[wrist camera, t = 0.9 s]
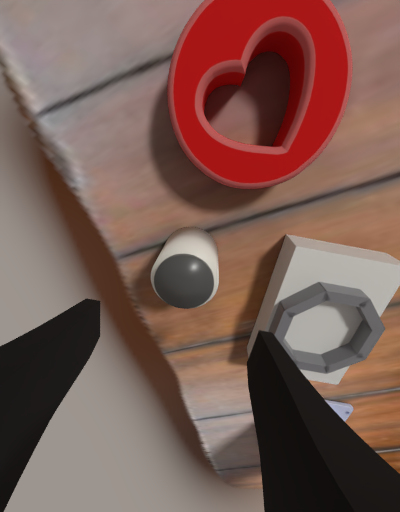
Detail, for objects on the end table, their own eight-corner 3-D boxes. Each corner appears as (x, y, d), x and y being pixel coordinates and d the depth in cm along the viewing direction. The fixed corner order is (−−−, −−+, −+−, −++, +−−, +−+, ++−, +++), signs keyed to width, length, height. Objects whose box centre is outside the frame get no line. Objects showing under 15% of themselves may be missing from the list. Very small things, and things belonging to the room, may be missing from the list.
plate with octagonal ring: (325, 361, 23) (344, 397, 20) (246, 347, 23) (252, 381, 20) (386, 253, 18) (424, 275, 15) (286, 234, 18) (302, 253, 15)
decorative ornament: (260, 208, 18) (269, 220, 15) (149, 130, 16) (135, 125, 13) (362, 78, 14) (400, 59, 11) (234, -42, 12) (240, -100, 10)
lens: (212, 279, 20) (211, 317, 16) (162, 270, 20) (146, 305, 16) (223, 232, 18) (225, 259, 14) (167, 222, 18) (152, 245, 14)
